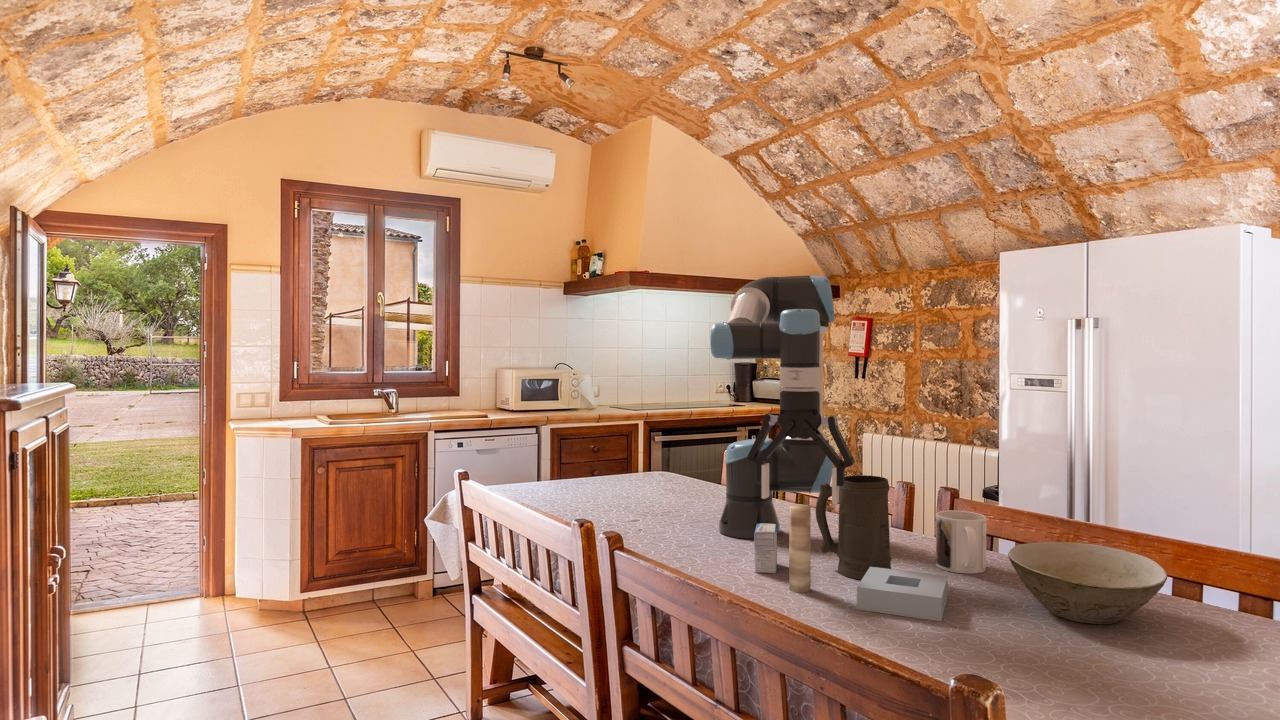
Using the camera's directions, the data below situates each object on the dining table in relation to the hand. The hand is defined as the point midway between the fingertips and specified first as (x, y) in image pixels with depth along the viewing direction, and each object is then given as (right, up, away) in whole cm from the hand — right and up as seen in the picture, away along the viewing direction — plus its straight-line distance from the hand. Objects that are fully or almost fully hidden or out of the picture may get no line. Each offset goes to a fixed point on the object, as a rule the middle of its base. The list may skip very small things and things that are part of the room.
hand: (799, 500), depth 147 cm
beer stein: (+13, -17, +12) cm, 25 cm away
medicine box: (-4, -17, +15) cm, 23 cm away
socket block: (+17, -17, -8) cm, 26 cm away
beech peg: (0, -17, 0) cm, 17 cm away
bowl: (+46, -18, -14) cm, 52 cm away
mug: (+37, -17, +14) cm, 43 cm away
